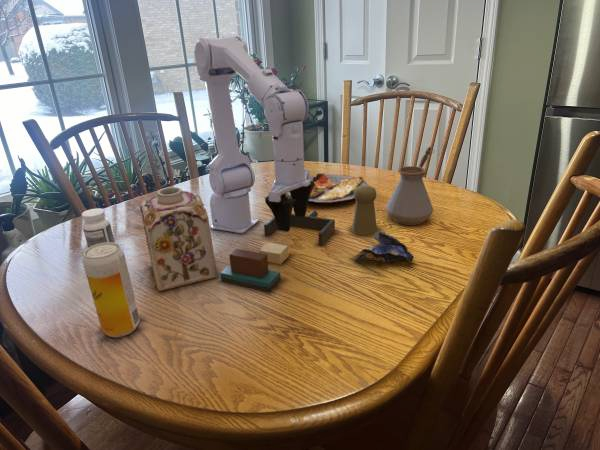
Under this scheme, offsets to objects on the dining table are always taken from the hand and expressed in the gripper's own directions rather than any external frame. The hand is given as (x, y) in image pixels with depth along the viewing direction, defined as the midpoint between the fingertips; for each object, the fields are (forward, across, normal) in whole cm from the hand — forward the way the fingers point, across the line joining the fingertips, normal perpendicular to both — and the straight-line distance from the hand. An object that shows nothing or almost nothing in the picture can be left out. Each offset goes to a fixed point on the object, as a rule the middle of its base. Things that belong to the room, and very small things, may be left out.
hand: (292, 222), depth 89 cm
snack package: (+9, +8, -17) cm, 21 cm away
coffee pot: (+9, +35, -18) cm, 41 cm away
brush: (+9, -10, +5) cm, 14 cm away
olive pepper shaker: (+9, +20, -9) cm, 24 cm away
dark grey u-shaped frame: (+9, +16, +5) cm, 19 cm away
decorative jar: (+9, -12, +20) cm, 25 cm away
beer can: (+9, -31, +18) cm, 37 cm away
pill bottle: (+9, -10, +44) cm, 46 cm away
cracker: (+9, 0, +5) cm, 10 cm away
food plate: (+9, +41, +8) cm, 43 cm away
